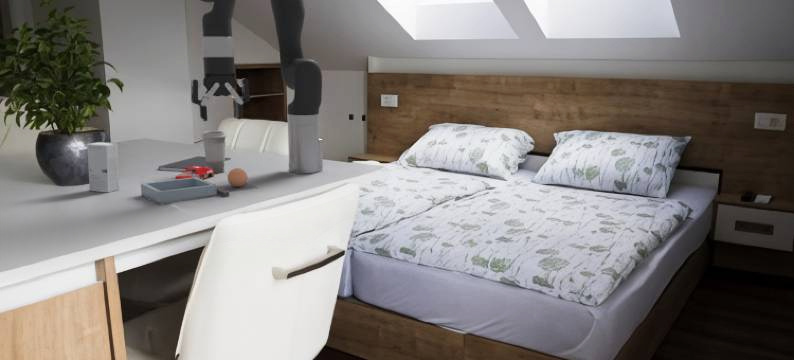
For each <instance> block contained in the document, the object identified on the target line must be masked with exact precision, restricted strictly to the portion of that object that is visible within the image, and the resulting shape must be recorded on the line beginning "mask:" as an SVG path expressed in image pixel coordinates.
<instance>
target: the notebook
mask: <svg viewBox="0 0 794 360" xmlns="http://www.w3.org/2000/svg"><path fill="white" fill-rule="evenodd" d="M231 160H232V158H231V157H225V161H224V164H228V163H230V162H231ZM227 162H228V163H227ZM194 166H202V167H207V161H206V156H201V155H200V156H198V155H197V156H195V157H191V158H187V159H182V160H178V161H175V162H171V163H167V164H163V165H159V166H158V171H169V172H170V171H173V172H182V171H185V170H186V169H188V168H190V167H194Z"/></svg>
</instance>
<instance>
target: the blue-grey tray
mask: <svg viewBox="0 0 794 360" xmlns="http://www.w3.org/2000/svg"><path fill="white" fill-rule="evenodd" d="M216 187H217V185H216V184H215V183H213V182H209V181H207V180H206V179H204V180H202V179H200V178H197V177H193V178H184V179H175V178H174V179H167V180H161V181H160V180H159V181H149V182H143V183H140V191H141V196H142V197H144V198H146V199H148V200H149V199H150V200H149V201H151V202H153V203H154V204H156V205H158V204H159V206H162V205H161V204H163V205H167V204H168V205H169V204H170V205H171V204H172V203H173V202H180V201H181V202H182V201H188V200H195V199H203V198H210V197H217V195H218V194H217V189H216Z"/></svg>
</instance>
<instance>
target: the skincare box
mask: <svg viewBox="0 0 794 360" xmlns="http://www.w3.org/2000/svg"><path fill="white" fill-rule="evenodd" d="M86 147H87V164H88V166H87V167H88V182H89V183H88V185H89V191H90V192H100V193H111V192H116V191H119V190H120V179H119V178H120V177H119V173H120V171H119V153H118V152H119V151H118V150H119V149H118V148H119V147H118V143H114V142H100V141H99V142H98V141H97V142H92V143H87V146H86Z"/></svg>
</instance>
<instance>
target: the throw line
mask: <svg viewBox="0 0 794 360" xmlns="http://www.w3.org/2000/svg"><path fill="white" fill-rule="evenodd" d="M216 189H217V195H219V196H221V197H223V198H228V197H230V192H229V191H227V190H224V189H222V188H219V187H217V186H216Z"/></svg>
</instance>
